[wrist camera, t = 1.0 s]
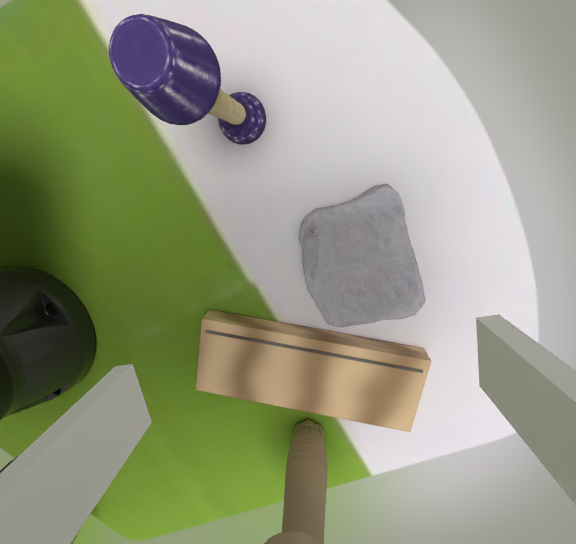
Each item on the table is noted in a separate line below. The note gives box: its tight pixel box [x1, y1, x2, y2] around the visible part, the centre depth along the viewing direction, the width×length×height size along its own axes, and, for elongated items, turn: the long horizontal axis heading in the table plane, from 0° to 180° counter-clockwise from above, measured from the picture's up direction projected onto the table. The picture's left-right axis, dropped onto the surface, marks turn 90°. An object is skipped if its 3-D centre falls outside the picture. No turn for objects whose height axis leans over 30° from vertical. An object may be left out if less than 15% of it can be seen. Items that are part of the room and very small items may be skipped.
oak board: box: [196, 310, 431, 432], centre depth 34 cm, size 22×8×3 cm, turn 81°
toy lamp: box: [109, 14, 266, 144], centre depth 22 cm, size 5×5×17 cm
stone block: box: [299, 184, 425, 327], centre depth 31 cm, size 12×5×10 cm
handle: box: [265, 419, 327, 544], centre depth 31 cm, size 5×6×15 cm
